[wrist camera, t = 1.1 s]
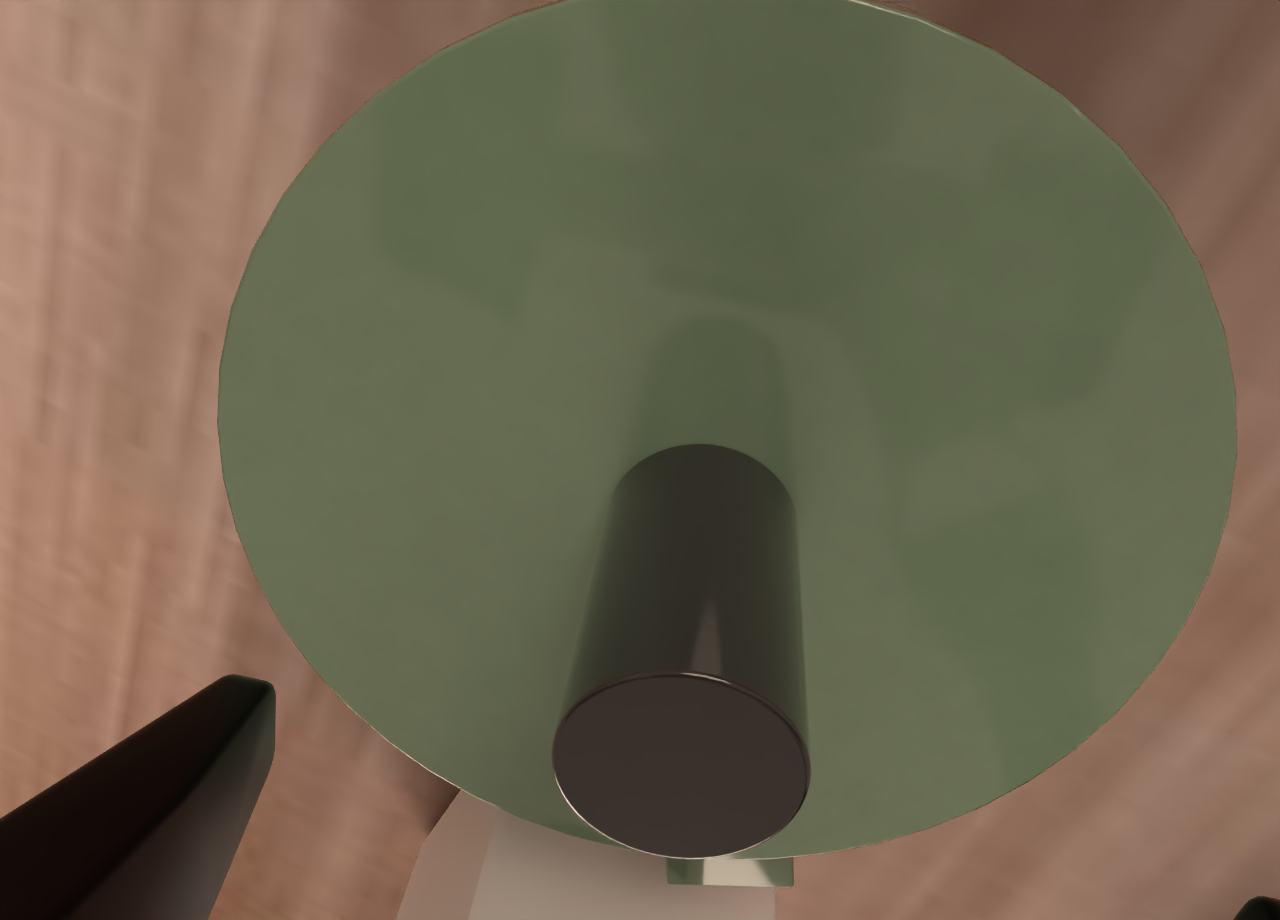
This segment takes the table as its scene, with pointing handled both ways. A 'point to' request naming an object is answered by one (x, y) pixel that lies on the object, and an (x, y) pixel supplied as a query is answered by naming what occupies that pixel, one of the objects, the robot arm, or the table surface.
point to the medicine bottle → (553, 876)
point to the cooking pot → (731, 872)
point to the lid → (727, 422)
